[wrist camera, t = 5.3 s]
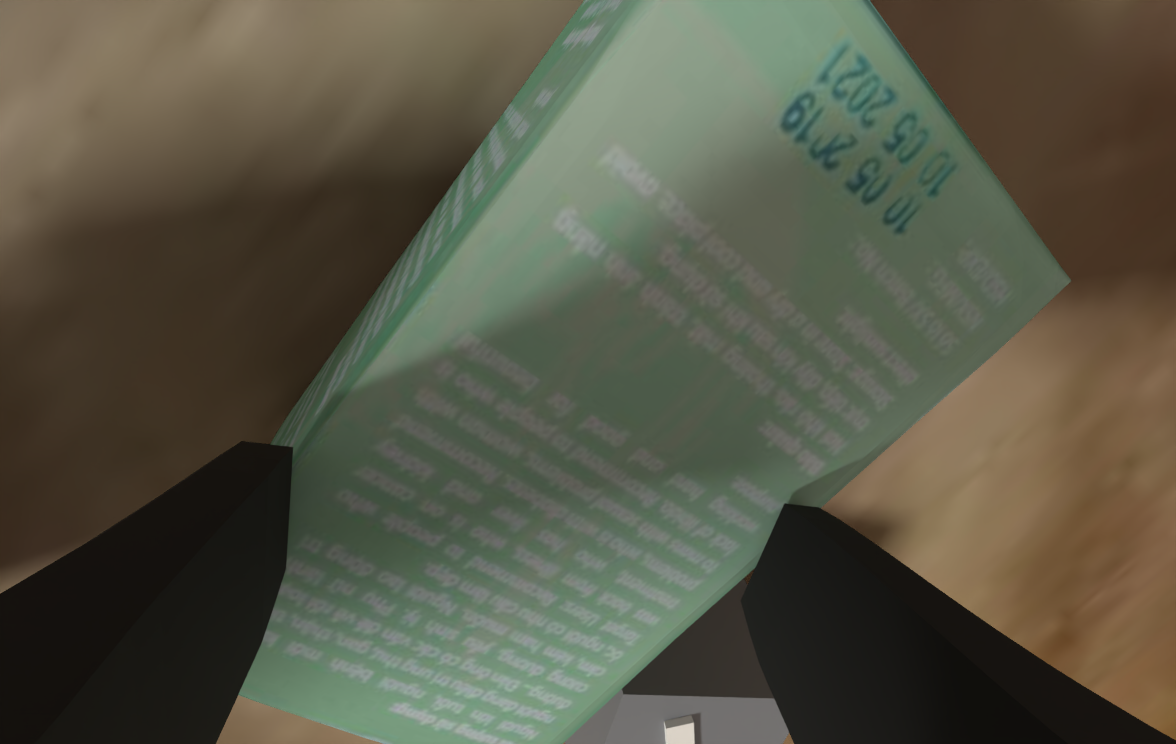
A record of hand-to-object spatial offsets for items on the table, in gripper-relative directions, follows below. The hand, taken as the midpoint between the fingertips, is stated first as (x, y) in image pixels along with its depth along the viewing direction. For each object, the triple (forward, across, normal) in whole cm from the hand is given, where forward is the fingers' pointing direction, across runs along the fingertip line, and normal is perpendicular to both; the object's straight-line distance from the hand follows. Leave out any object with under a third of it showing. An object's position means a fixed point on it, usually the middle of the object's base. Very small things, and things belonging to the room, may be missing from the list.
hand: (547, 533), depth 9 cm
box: (+8, 0, -1) cm, 8 cm away
